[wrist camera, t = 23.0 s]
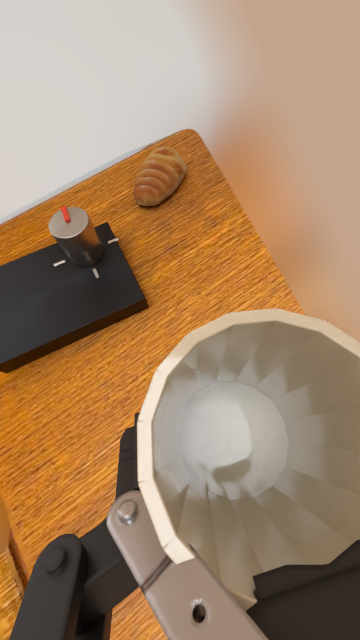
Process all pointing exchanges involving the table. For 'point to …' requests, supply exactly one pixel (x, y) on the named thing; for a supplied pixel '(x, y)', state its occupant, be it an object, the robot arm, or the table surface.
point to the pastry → (158, 176)
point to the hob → (62, 300)
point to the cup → (254, 446)
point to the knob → (76, 236)
